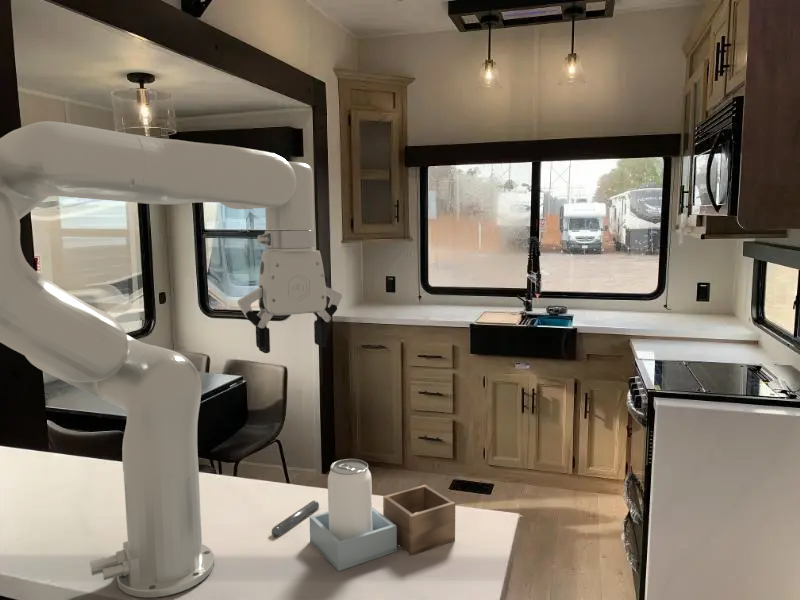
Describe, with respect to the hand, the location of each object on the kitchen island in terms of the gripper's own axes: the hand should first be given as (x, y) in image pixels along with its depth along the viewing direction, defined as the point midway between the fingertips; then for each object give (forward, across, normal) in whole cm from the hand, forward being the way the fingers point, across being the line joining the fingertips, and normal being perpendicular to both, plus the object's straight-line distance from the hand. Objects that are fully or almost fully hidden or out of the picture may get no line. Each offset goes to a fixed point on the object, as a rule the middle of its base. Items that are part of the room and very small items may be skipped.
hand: (293, 348), depth 98 cm
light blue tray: (+28, +3, -14) cm, 32 cm away
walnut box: (+28, +13, -17) cm, 35 cm away
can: (+28, +3, -14) cm, 31 cm away
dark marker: (+28, -1, -2) cm, 29 cm away
